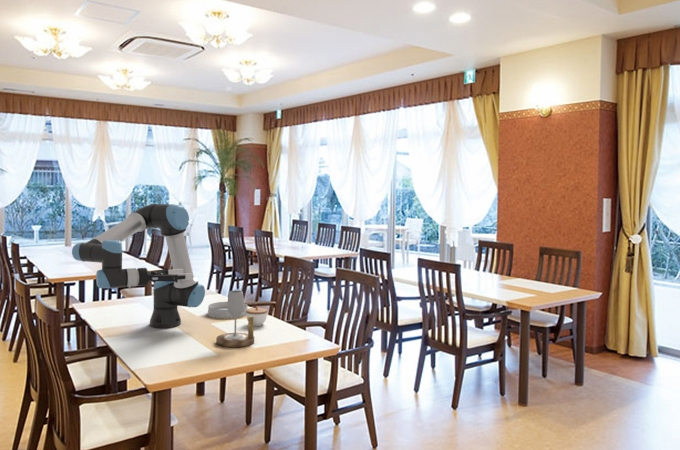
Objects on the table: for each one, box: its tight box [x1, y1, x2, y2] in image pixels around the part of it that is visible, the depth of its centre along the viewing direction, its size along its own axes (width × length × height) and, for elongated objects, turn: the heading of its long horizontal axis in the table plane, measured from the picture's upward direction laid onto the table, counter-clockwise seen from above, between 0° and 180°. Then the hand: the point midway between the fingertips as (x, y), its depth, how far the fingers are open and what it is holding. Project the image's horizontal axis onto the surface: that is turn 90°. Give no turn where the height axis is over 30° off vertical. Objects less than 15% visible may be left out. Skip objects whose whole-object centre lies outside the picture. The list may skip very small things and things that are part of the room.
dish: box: [207, 301, 249, 319], centre depth 298 cm, size 22×22×5 cm
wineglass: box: [226, 289, 245, 339], centre depth 241 cm, size 8×8×21 cm
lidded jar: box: [246, 306, 268, 327], centre depth 275 cm, size 11×11×9 cm
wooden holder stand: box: [215, 316, 255, 348], centre depth 241 cm, size 17×17×12 cm
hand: (187, 274), depth 233 cm, fingers open, 13 cm apart
